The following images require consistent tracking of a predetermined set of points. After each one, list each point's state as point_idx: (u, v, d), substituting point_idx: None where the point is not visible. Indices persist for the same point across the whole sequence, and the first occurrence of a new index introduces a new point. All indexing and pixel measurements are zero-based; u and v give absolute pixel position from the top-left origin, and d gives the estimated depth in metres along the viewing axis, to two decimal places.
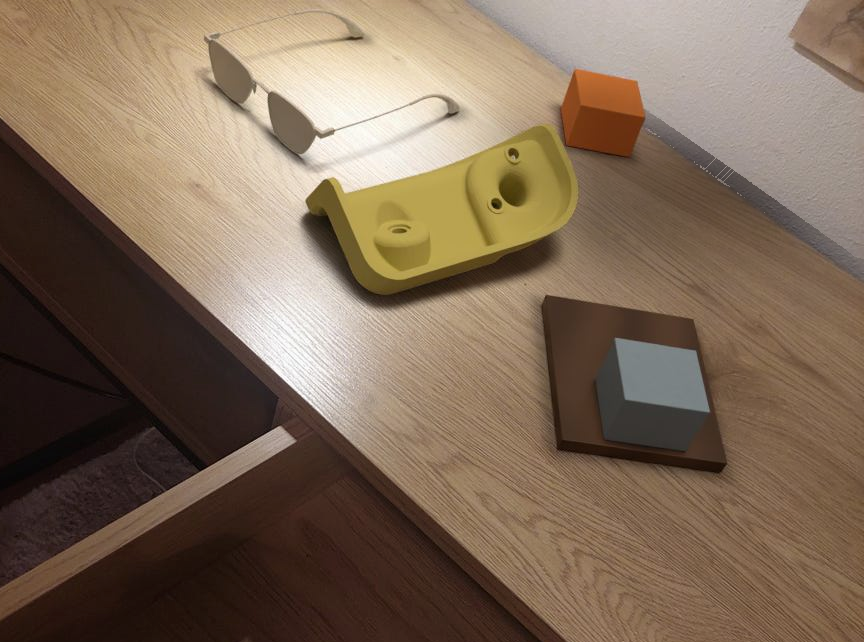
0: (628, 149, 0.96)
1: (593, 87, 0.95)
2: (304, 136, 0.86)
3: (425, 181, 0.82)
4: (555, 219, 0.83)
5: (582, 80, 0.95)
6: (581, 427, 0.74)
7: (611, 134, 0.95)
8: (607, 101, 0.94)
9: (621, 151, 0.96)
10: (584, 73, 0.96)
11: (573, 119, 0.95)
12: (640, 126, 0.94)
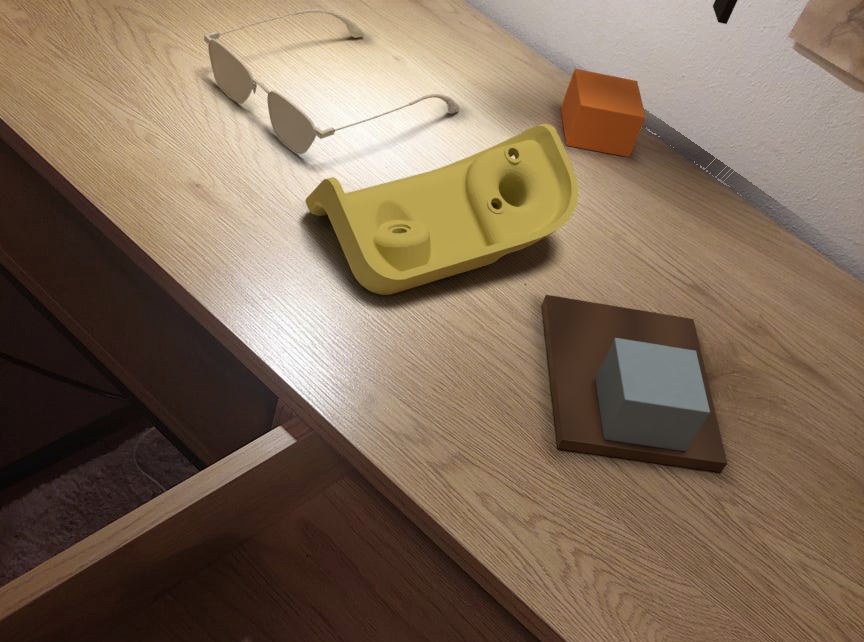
0: (628, 149, 0.96)
1: (593, 87, 0.95)
2: (304, 136, 0.86)
3: (425, 181, 0.82)
4: (555, 219, 0.83)
5: (582, 80, 0.95)
6: (581, 427, 0.74)
7: (611, 134, 0.95)
8: (607, 101, 0.94)
9: (621, 151, 0.96)
10: (584, 73, 0.96)
11: (573, 119, 0.95)
12: (640, 126, 0.94)
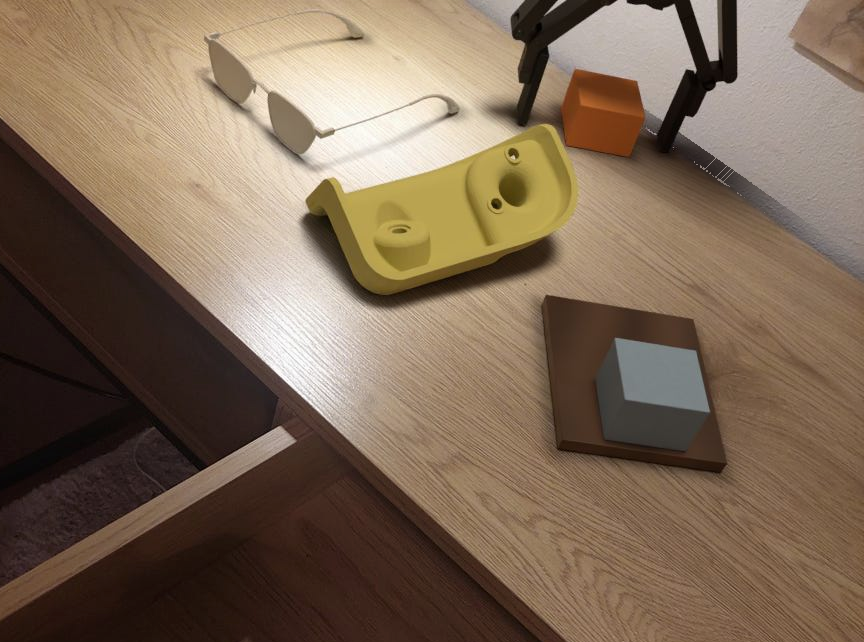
0: (628, 149, 0.96)
1: (593, 87, 0.95)
2: (304, 136, 0.86)
3: (425, 181, 0.82)
4: (555, 219, 0.83)
5: (582, 80, 0.95)
6: (581, 427, 0.74)
7: (611, 134, 0.95)
8: (607, 101, 0.94)
9: (621, 151, 0.96)
10: (584, 73, 0.96)
11: (573, 119, 0.95)
12: (640, 126, 0.94)
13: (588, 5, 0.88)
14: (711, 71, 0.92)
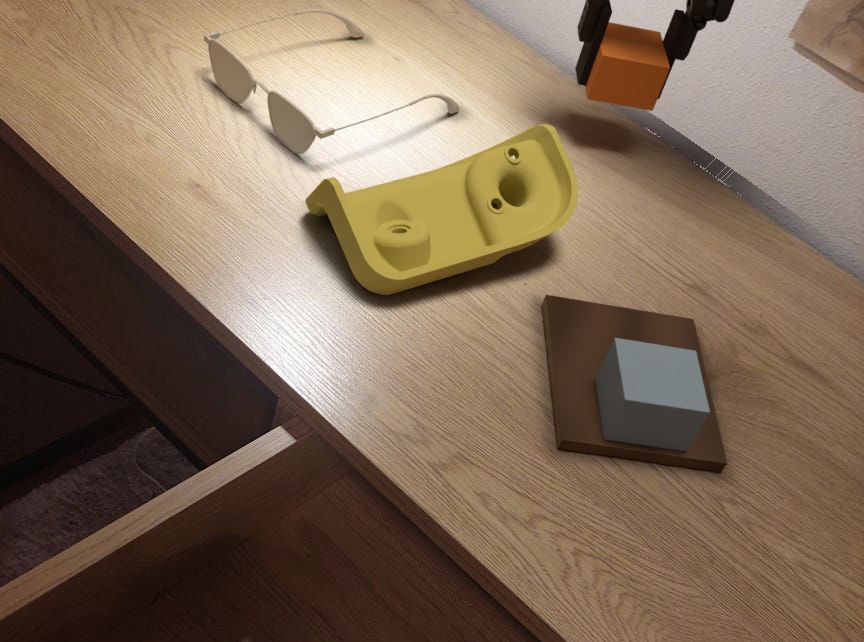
0: (651, 102, 0.92)
1: (615, 38, 0.91)
2: (304, 136, 0.86)
3: (425, 181, 0.82)
4: (555, 219, 0.83)
5: None
6: (581, 427, 0.74)
7: (634, 86, 0.91)
8: (630, 52, 0.90)
9: (644, 104, 0.93)
10: None
11: (594, 71, 0.91)
12: (664, 77, 0.91)
13: None
14: (705, 10, 0.88)
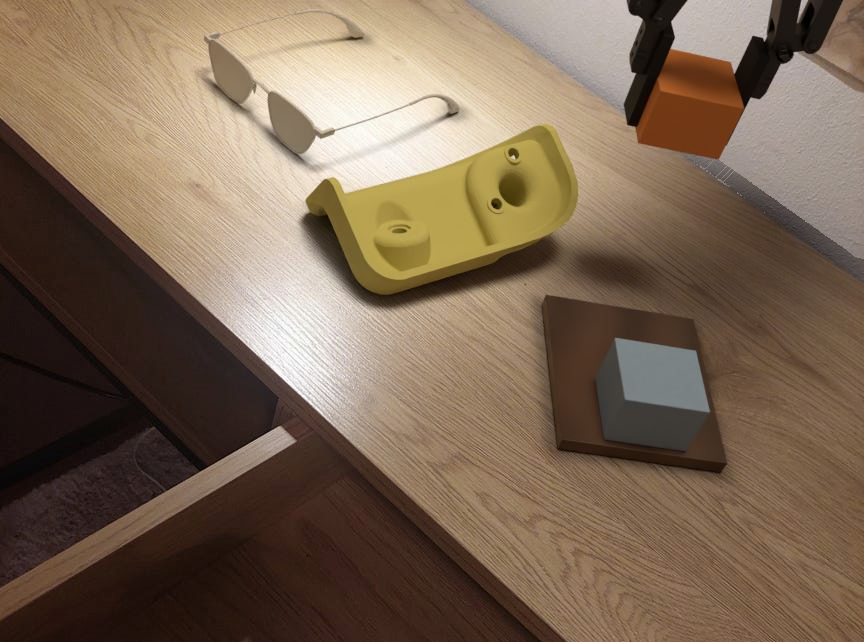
0: (718, 149, 0.74)
1: (675, 69, 0.73)
2: (304, 136, 0.86)
3: (425, 181, 0.82)
4: (555, 219, 0.83)
5: None
6: (581, 427, 0.74)
7: (698, 130, 0.73)
8: (695, 87, 0.72)
9: (709, 152, 0.75)
10: None
11: (649, 109, 0.73)
12: (736, 120, 0.73)
13: None
14: (792, 39, 0.70)
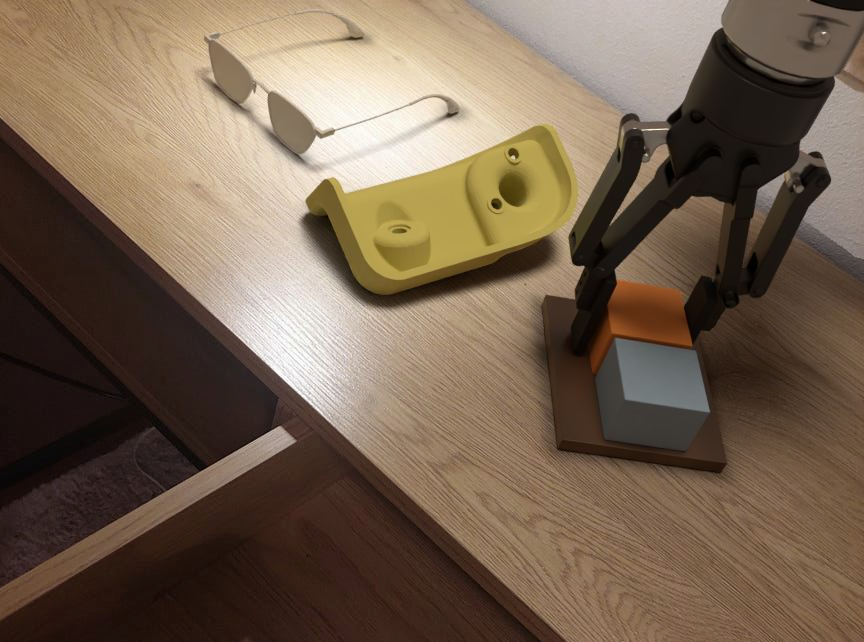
0: None
1: (626, 305, 0.76)
2: (304, 136, 0.86)
3: (425, 181, 0.82)
4: (555, 219, 0.83)
5: (612, 294, 0.76)
6: (581, 427, 0.74)
7: None
8: (645, 325, 0.75)
9: None
10: None
11: (601, 345, 0.76)
12: None
13: (652, 214, 0.68)
14: (737, 286, 0.73)
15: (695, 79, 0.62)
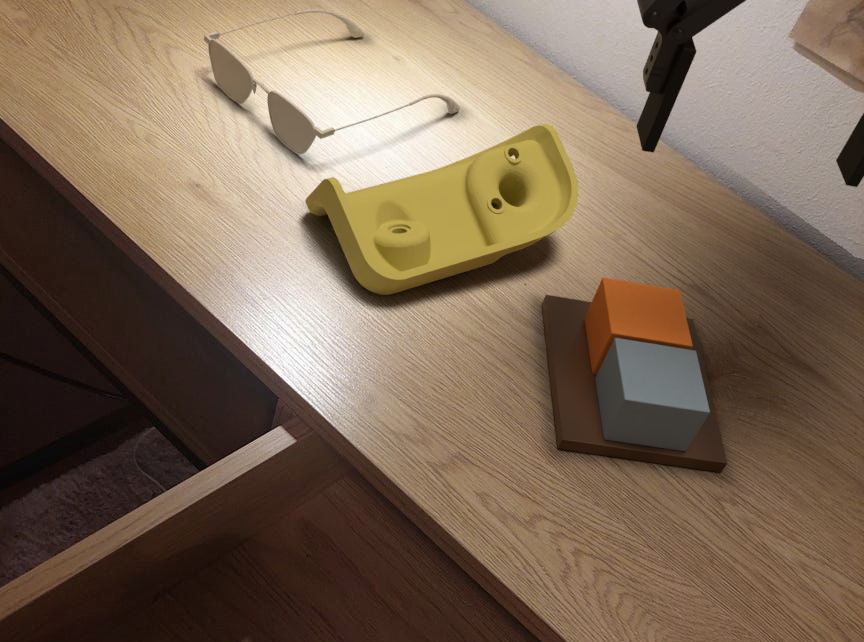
0: None
1: (626, 305, 0.76)
2: (304, 136, 0.86)
3: (425, 181, 0.82)
4: (555, 219, 0.83)
5: (612, 294, 0.76)
6: (581, 427, 0.74)
7: None
8: (645, 325, 0.75)
9: None
10: (614, 284, 0.77)
11: (601, 345, 0.76)
12: None
13: None
14: None
15: None
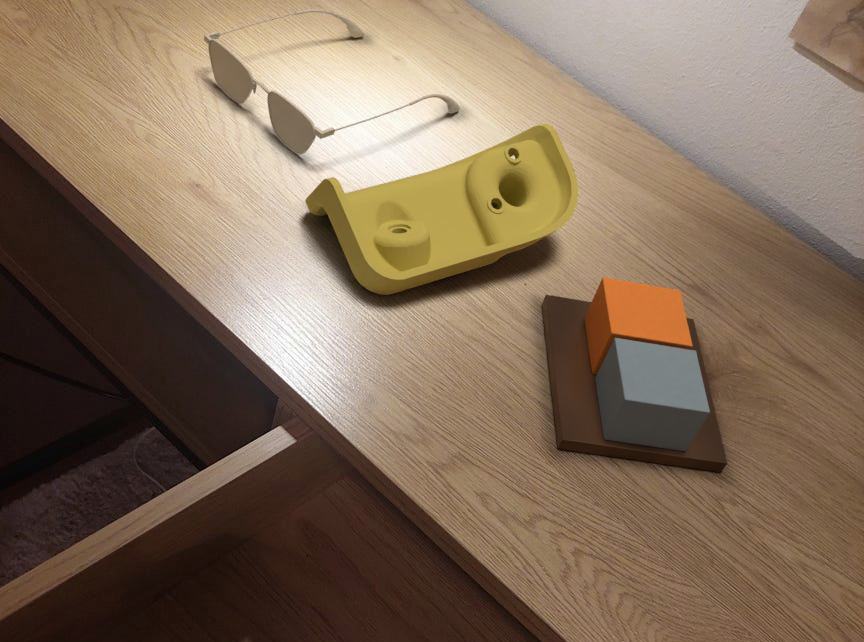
0: None
1: (626, 305, 0.76)
2: (304, 136, 0.86)
3: (425, 181, 0.82)
4: (555, 219, 0.83)
5: (612, 294, 0.76)
6: (581, 427, 0.74)
7: None
8: (645, 325, 0.75)
9: None
10: (614, 284, 0.77)
11: (601, 345, 0.76)
12: None
13: None
14: None
15: None
